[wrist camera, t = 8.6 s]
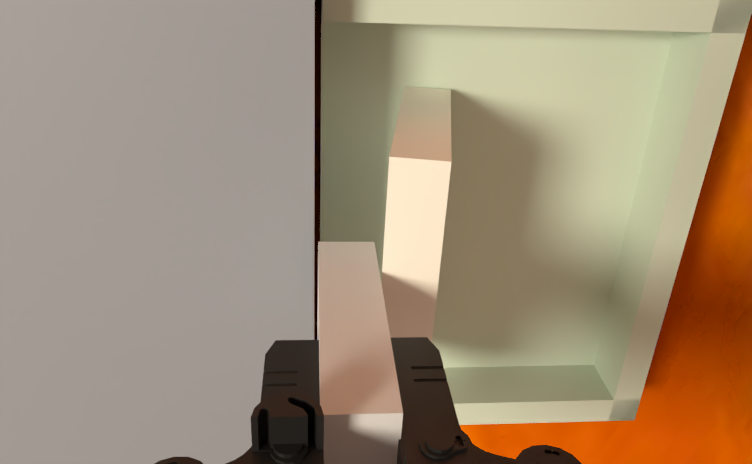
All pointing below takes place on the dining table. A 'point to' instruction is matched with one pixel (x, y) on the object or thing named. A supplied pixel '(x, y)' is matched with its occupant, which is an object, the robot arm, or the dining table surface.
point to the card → (416, 210)
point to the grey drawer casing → (150, 222)
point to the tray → (537, 179)
